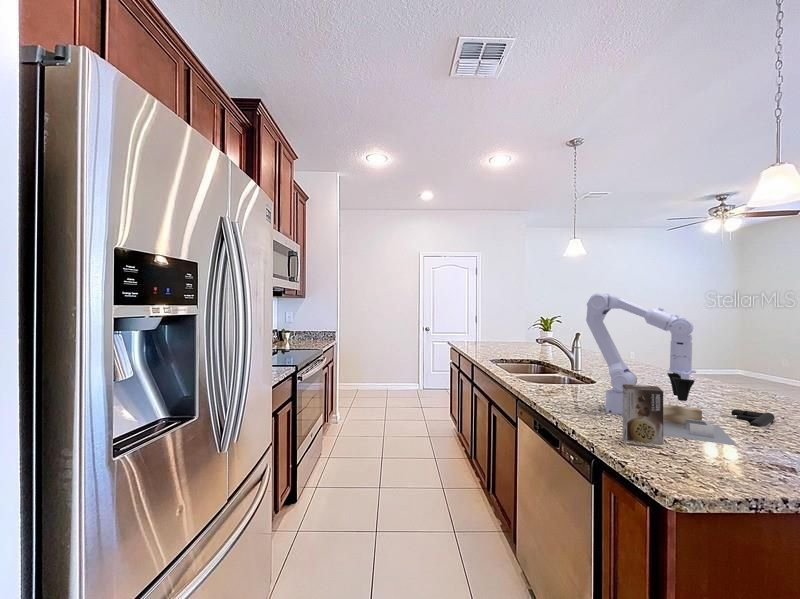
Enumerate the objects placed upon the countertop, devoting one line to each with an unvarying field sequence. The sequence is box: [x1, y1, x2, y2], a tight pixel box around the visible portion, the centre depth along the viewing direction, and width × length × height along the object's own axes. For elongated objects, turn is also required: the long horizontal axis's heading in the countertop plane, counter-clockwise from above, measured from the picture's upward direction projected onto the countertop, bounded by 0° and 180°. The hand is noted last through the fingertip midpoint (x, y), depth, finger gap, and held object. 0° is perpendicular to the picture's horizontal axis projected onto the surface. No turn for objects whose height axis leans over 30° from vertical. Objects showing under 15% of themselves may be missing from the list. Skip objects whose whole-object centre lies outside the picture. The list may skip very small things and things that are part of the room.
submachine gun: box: [719, 408, 778, 429], centre depth 136 cm, size 3×20×16 cm
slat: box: [663, 404, 703, 425], centre depth 129 cm, size 14×3×5 cm, turn 64°
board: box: [663, 422, 739, 447], centre depth 122 cm, size 20×20×2 cm
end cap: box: [685, 418, 714, 438], centre depth 119 cm, size 6×6×3 cm
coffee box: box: [622, 384, 665, 450], centre depth 113 cm, size 9×6×16 cm
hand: (679, 397), depth 129 cm, fingers open, 7 cm apart
